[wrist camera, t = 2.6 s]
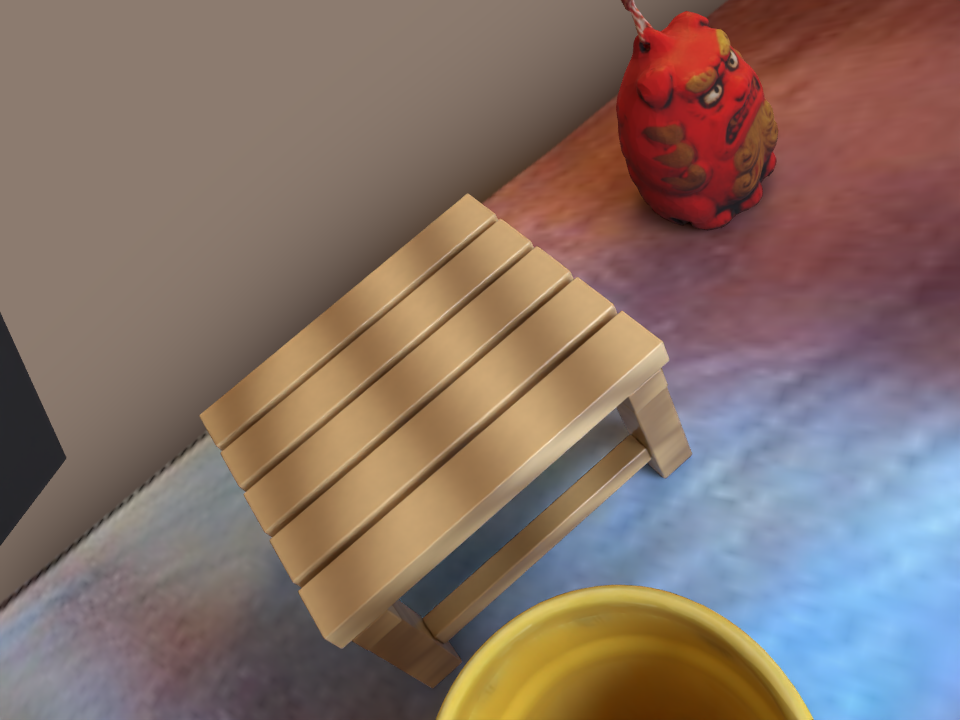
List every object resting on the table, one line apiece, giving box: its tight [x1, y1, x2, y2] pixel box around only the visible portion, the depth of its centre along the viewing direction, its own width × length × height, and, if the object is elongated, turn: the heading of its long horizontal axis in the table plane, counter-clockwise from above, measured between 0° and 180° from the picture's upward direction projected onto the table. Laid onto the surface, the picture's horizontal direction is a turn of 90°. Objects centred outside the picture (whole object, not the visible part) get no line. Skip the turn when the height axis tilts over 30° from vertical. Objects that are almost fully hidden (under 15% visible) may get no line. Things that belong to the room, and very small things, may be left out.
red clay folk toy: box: [616, 0, 778, 230], centre depth 37 cm, size 8×7×15 cm
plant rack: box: [200, 194, 692, 689], centre depth 35 cm, size 15×13×8 cm
